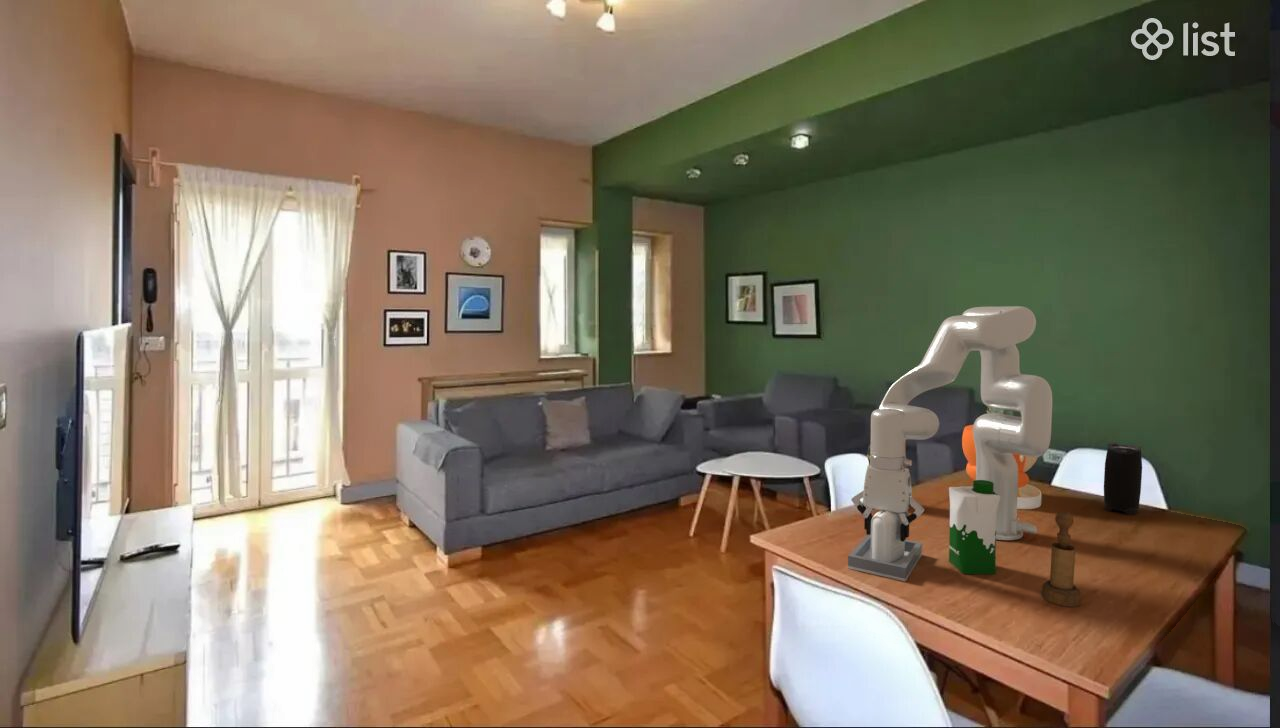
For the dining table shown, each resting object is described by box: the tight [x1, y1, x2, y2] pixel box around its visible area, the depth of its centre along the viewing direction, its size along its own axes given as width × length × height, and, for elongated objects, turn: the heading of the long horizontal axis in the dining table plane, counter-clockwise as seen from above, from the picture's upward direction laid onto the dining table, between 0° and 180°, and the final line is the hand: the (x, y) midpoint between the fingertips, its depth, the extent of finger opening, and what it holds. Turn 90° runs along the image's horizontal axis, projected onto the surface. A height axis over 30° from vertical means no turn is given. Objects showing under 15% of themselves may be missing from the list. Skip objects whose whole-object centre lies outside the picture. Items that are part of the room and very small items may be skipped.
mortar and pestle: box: [1041, 511, 1082, 608], centre depth 122 cm, size 7×6×18 cm
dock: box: [847, 534, 923, 582], centre depth 143 cm, size 12×17×3 cm
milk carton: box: [948, 480, 1000, 575], centre depth 138 cm, size 9×9×20 cm
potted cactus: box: [961, 395, 1043, 510], centre depth 187 cm, size 22×22×35 cm
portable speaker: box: [1103, 442, 1143, 515], centre depth 174 cm, size 8×9×19 cm
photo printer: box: [870, 510, 905, 563], centre depth 142 cm, size 10×4×12 cm, turn 129°
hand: (886, 535), depth 142 cm, fingers open, 7 cm apart
